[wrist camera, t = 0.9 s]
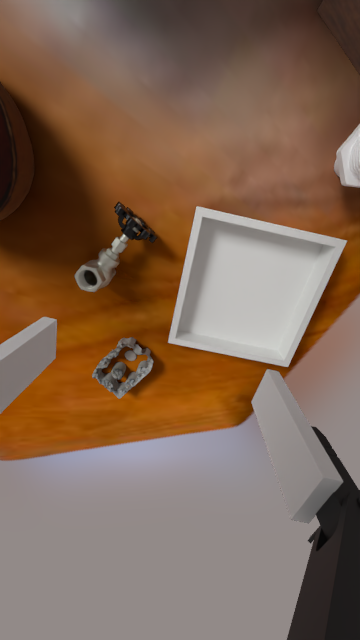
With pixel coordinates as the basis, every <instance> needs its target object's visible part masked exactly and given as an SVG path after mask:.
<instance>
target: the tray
mask: <svg viewBox="0 0 360 640" xmlns="http://www.w3.org/2000/svg"><path fill="white" fill-rule="evenodd" d="M346 242H347V241H346V240H342V239H338V238H333V237H329V236H325V235H320V234H316V233H311V232H307V231H303V230H298V229H294V228H290V227H285V226H281V225H276V224H272V223H268V222H263V221H259V220H255V219H250V218H246V217H241V216H237V215H233V214H228V213H224V212H220V211H215V210H211V209H206V208H202V207H198V206H197V207H196V211H195V216H194V221H193V225H192V230H191V235H190V239H189V244H188V249H187V254H186V258H185V263H184V268H183V273H182V277H181V282H180V287H179V292H178V296H177V301H176V306H175V310H174V315H173V320H172V325H171V329H170V334H169V340H168V343H172V344H177V345H182V346H187V347H191V348H196V349H201V350H206V351H211V352H216V353H221V354H226V355H231V356H236V357H241V358H245V359H250V360H255V361H260V362H265V363H270V364H275V365H280V366H285V367H288V366H289V364H290V362H291V360H292V357H293V355H294V353H295V351H296V349H297V347H298V345H299V342H300V340H301V338H302V336H303V334H304V332H305V330H306V327H307V325H308V323H309V321H310V319H311V317H312V315H313V312H314V310H315V308H316V306H317V304H318V302H319V300H320V298H321V295H322V293H323V291H324V289H325V287H326V285H327V283H328V280H329V278H330V276H331V274H332V272H333V270H334V268H335V265H336V263H337V261H338V259H339V257H340V255H341V253H342V250H343V248H344V246H345V244H346Z"/></svg>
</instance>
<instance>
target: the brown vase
mask: <svg viewBox="0 0 360 640" xmlns="http://www.w3.org/2000/svg"><path fill="white" fill-rule="evenodd" d="M34 172H35V171H34V156H33V150H32V145H31V141H30V138H29V135H28V132H27V129H26V126H25V123H24V120H23V118H22V116H21V113H20V111H19V110H18V108H17V106H16V105H15V103H14V101H13V99H12V98H11V96H10V95H9V93H8V92H7V91H6V89H5V88H4V86H3V85H2V84H1V82H0V221H1V220H2V219H4V218H6V217H7V216H9V215H10V214H11V213H12V212H14V211H15V210H16V209H17V208H18V207H19V206H20V205H21V203H22V202H23V200H24V199H25V197H26V195H27V194H28V192H29V191H30V187H31V184H32V181H33V177H34Z"/></svg>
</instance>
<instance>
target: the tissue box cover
mask: <svg viewBox="0 0 360 640" xmlns="http://www.w3.org/2000/svg"><path fill="white" fill-rule="evenodd" d="M317 12H318V13H319V15H320V16H321V18H322V19H323V21H324V22H325V24H326V25H327V27H328V28H329V30H330V31H331V33H332V34H333V36H334V37H335V39H336V40H337V42H338V43H339V45H340V46H341V48H342V49H343V51H344V52H345V54H346V55H347V57H348V58H349V60H350V61H351V63H352V64H353V66H354V67H355V68H356V70H357V71H358V73H359V74H360V0H323V1H322V3H321V5H320V6H319V8H318V10H317Z"/></svg>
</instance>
